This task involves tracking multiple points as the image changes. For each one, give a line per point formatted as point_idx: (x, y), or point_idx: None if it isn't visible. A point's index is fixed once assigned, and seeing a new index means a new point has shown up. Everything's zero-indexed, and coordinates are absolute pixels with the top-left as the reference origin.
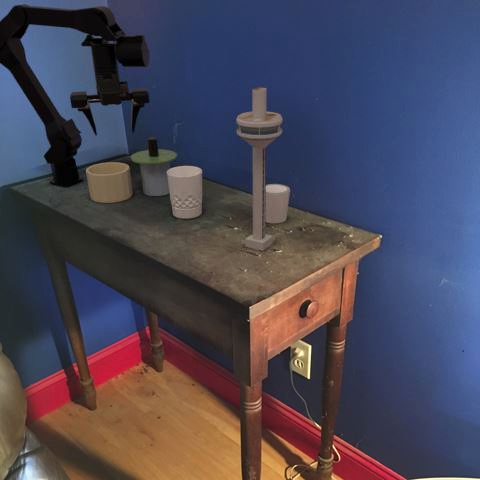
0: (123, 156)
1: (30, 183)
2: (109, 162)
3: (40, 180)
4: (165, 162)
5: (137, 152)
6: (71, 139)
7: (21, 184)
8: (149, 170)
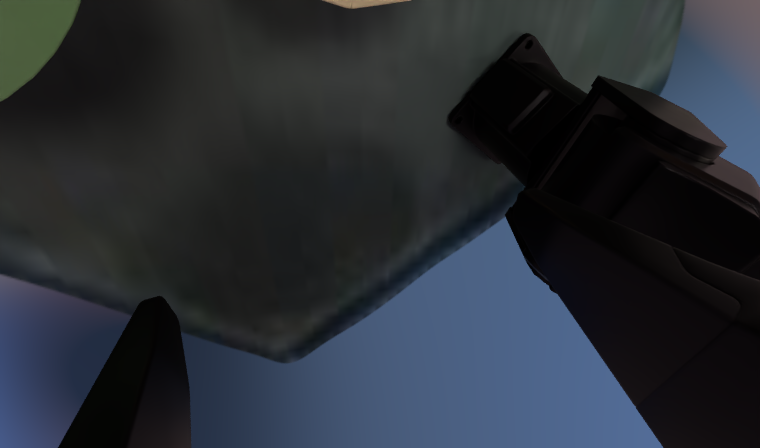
0: (303, 343)
1: None
2: (362, 3)
3: None
4: None
5: (54, 28)
6: (637, 180)
7: None
8: None
